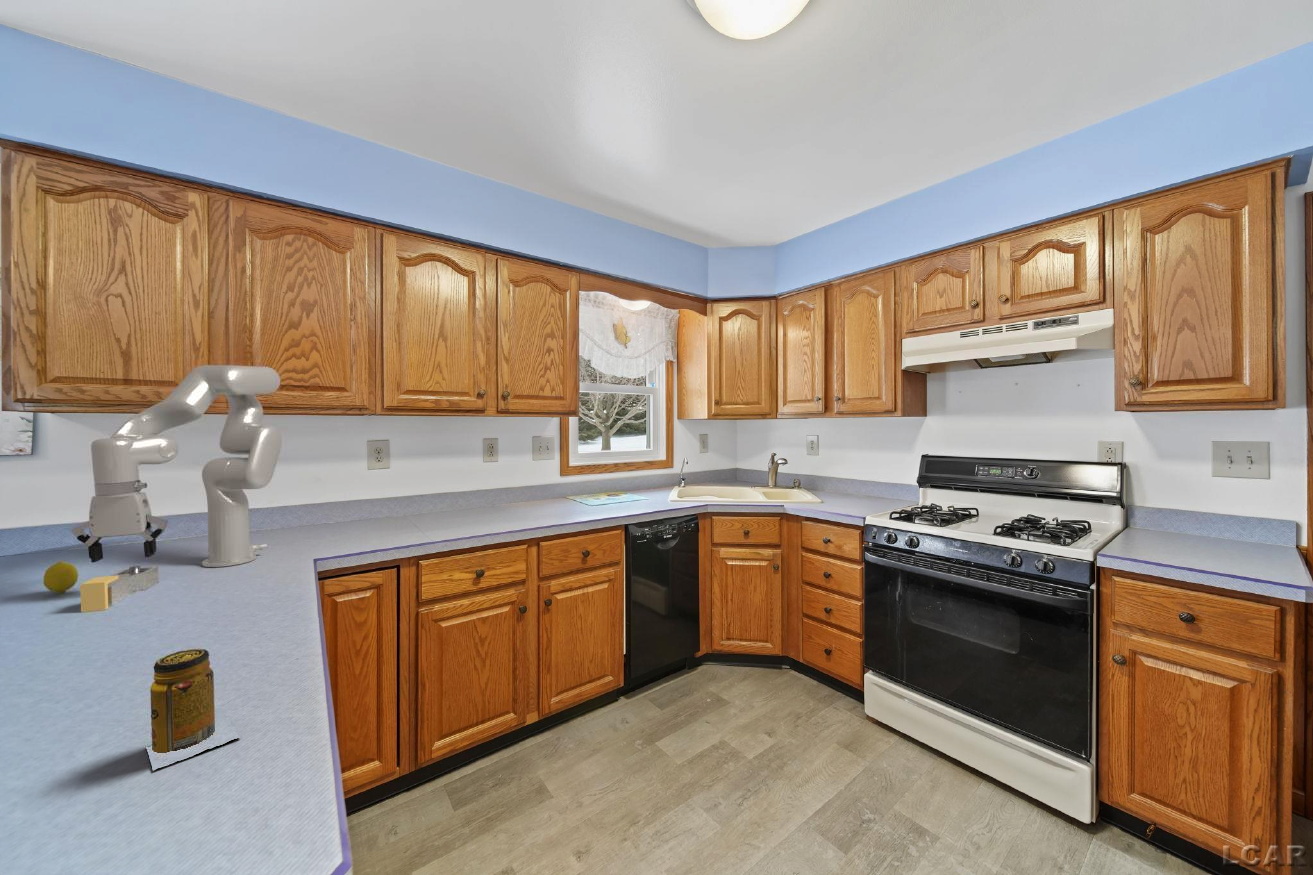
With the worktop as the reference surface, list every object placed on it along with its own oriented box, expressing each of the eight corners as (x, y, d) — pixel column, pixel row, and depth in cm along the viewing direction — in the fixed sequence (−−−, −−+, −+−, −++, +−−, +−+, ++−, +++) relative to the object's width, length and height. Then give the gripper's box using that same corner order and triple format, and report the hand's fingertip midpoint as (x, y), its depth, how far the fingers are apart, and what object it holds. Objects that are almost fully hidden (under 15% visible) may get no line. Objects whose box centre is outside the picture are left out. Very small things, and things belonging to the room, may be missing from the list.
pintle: (138, 586, 132) (137, 565, 131) (142, 587, 131) (142, 566, 131) (128, 588, 130) (127, 567, 129) (132, 589, 129) (131, 568, 129)
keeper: (96, 604, 119) (95, 577, 118) (119, 601, 120) (118, 575, 120) (81, 612, 113) (80, 584, 113) (105, 609, 115) (104, 582, 115)
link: (121, 604, 118) (120, 585, 118) (82, 608, 116) (81, 589, 116) (158, 582, 135) (158, 566, 134) (125, 585, 132) (124, 569, 132)
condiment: (145, 748, 66) (142, 657, 66) (229, 719, 73) (227, 636, 72) (152, 773, 61) (149, 675, 61) (241, 740, 68) (239, 651, 68)
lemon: (54, 598, 123) (53, 565, 123) (37, 596, 124) (36, 563, 124) (84, 590, 128) (83, 559, 128) (68, 589, 129) (67, 557, 129)
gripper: (171, 484, 130) (176, 549, 132) (79, 489, 123) (85, 558, 125) (156, 489, 123) (162, 558, 125) (58, 494, 117) (65, 567, 118)
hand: (124, 558), depth 125 cm, fingers open, 9 cm apart
